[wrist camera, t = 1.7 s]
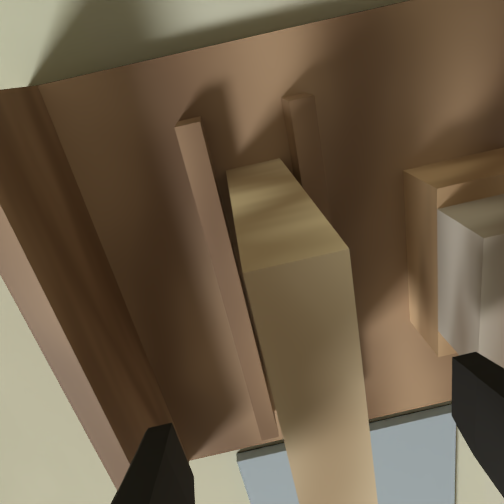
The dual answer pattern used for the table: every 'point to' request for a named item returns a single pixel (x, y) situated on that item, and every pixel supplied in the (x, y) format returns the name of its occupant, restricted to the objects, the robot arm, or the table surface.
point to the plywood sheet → (305, 332)
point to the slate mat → (374, 462)
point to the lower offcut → (425, 227)
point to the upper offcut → (472, 277)
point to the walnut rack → (220, 211)
